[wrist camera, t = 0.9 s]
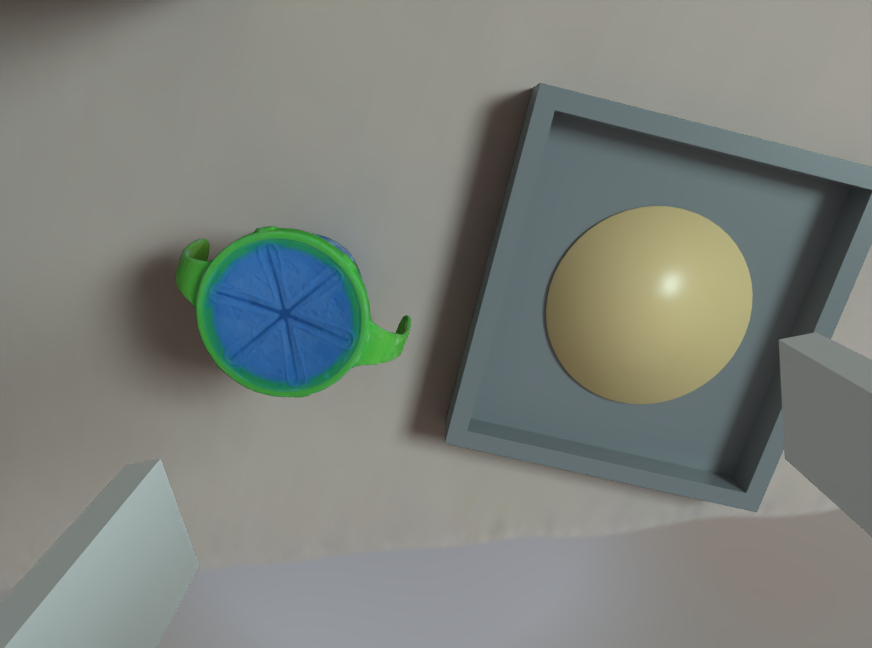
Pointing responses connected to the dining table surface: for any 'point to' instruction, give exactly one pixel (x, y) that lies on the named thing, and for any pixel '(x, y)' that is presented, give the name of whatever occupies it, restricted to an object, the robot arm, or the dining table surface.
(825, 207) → the tray
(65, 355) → the dining table surface
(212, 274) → the snack cup
